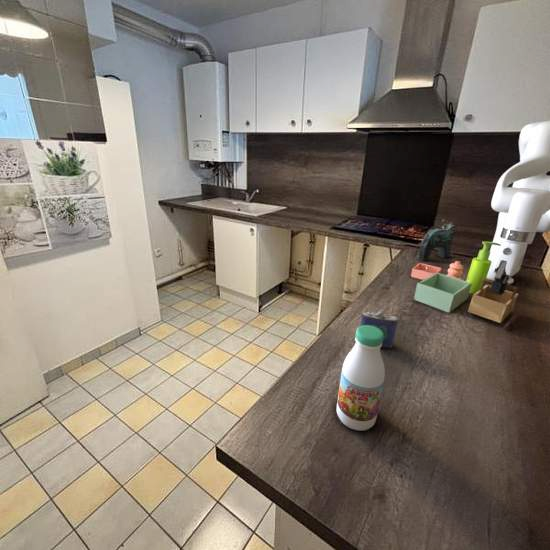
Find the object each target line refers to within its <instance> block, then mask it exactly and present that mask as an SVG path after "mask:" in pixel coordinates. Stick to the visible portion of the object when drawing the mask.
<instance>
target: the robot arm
mask: <svg viewBox="0 0 550 550" xmlns="http://www.w3.org/2000/svg"><path fill="white" fill-rule="evenodd" d="M518 137H519V138H518V151H519V162H517V163H515V164H514V165H512V166H511V167H509V168H508V169H507V170H506V171H505V172H503V173H502V175H501V176H500V178H499V179H498V181H497V183H496V186H495V188H494V192H493V195H492V198H491V202H490V205H491V208H492V210H493V211H494V212H498V217H497V224H496V228H495V229H496V230H495V233H494V236H493V239H492V242H495V243H498V244H500V246H498V245H490V248H489V251H490V255H489V258H488V260H490V261H492V263H491V266H490V269H489V272H488V275H487V279H490V280H493V283H492V284H491V285H490V286H491V289H490V292H491V293H494V294H497V295H502V294H503V293H504V292H505V290H507V288H505V286H506V284H508V285H512V284H514V281H515V280H514V278H512V277H513V276H514V275H516V274H517V273H519V272H520V270H521V266H522V264H523V261H524V258H525V255H526V251H527V248H528V245H531V244H532V243H533V241H534V238H535V237H536V234H537V233H548V232H550V175H549V174H548V175H547V173H549V172H550V120H546V121H537V122H532V123H528V124H526V125H524V126H523V127H522V129H521V131H520V133H519V136H518ZM511 184H512V186H510V185H511Z"/></svg>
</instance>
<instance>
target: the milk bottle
mask: <svg viewBox="0 0 550 550" xmlns="http://www.w3.org/2000/svg"><path fill="white" fill-rule="evenodd" d="M355 331H356V332H355V337H354V341H355V343H354V346H353V347H352V349H351V350H350V351H349V352H348V354H347V355H346V357H345V358H344V360H343V363H342V369H341V374H340V381H339V387H338V395H337V403H336V414H337V417H338V419H339V420H340V422H341V423H342V424H343V425H345V426H346V427H347V428H349V429H352V430H354V431H359V432H360V431H361V432H362V431H363V432H364V431H367V430H369V429H370V428H371V429H372V427H373V426H374V425H375V424H376V421H377V418H378V412H379V408H380V404H381V398H382V394H383V387H384V384H385V376H386V369H385V368H386V367H385V363H384V360H383V357H382V354H381V348H380V347H381V346H382V342H383V337H384V335H383V332H382V331H381V330H380V329H378V328H377V327H374V326H370V325H363V326H358V327H357V329H356V330H355Z"/></svg>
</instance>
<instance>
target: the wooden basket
mask: <svg viewBox="0 0 550 550" xmlns="http://www.w3.org/2000/svg"><path fill="white" fill-rule="evenodd" d="M486 283H487V284H486ZM492 283H493V280H490V279H487V278H484V279H483V282H482V285H481V288H480V290H479V291H478V292H476V293H475V294H472V297H471V300H470V303H469V307H468V310H467V312H468V313H471V314H474V315H477V316H479V317H482V318H485V319H487V320H491V321H493V322H496V323H499V324H501V323H502V322H504V320H505V319H506V318H507V317H508V316H509V315H510V313H511V312H512V311H513V310H514V308H515V305H516V302H517V299H518V297H519V293H517V291H518V289H519V288H518V287H517V286H516V285H512V284H509V285H508V284H506V286H505V288H506V289H505V292H504V293H503V294H502V295H497V294H494V293H491V292H490V289H491V286H492Z"/></svg>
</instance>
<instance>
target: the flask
mask: <svg viewBox="0 0 550 550" xmlns="http://www.w3.org/2000/svg"><path fill="white" fill-rule="evenodd" d="M384 312H385V310H384V309H380V310H378V312H376V313H375V312H371V311H364V312H362V313H361V318H360V324H359V325H360V326H363V325H370V326H374V327H377V328H378V329H380V330H381V331H382V332H383V335H384V337H383V342H382V346H381V347H380V349H392V348H393V346H394V341H395V337H396V331H397V326H398V324H399V323H398V322H399V318H398V317H396V316H394V315H385V313H384ZM360 326H359V327H360Z"/></svg>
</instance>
